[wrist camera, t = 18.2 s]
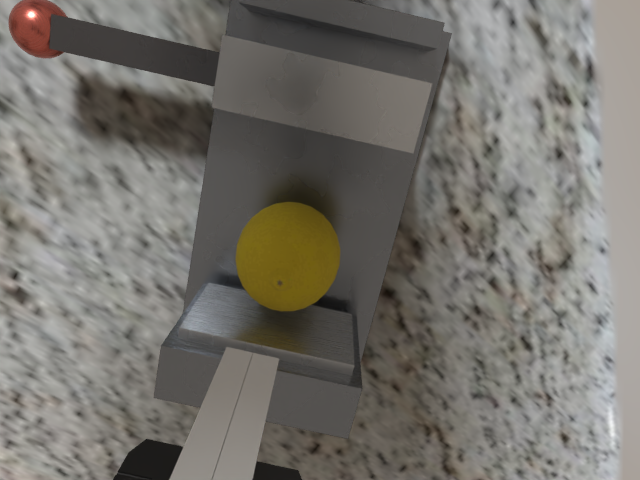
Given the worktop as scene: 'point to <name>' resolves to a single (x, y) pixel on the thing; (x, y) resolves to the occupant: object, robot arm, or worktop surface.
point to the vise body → (310, 189)
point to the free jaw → (246, 77)
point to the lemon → (287, 256)
